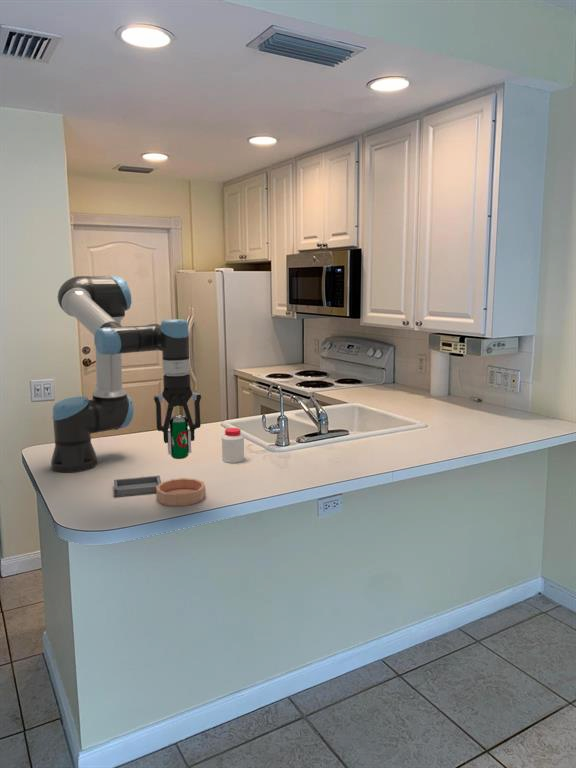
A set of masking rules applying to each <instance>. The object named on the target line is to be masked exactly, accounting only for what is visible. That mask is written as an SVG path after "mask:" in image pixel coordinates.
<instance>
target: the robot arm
mask: <svg viewBox="0 0 576 768" xmlns="http://www.w3.org/2000/svg"><path fill="white" fill-rule="evenodd" d="M57 303H58V305H59V307H60V308H61V310H62V311H63V312H64V313H65V314H67V315H68V316H70V317H74V318H75V319H76V320H77V321H78V322H79V323H80V324H81V325H82V326H83V327H85V328H86V330H87V331H88V332H90V333H91V335H93V337H94V338H93V341H94V346H95V348H94V349H95V375H96V389H95V390H94V391H93V392H92V399H89V398H88V397H87V396H72V397H68V398H64V399H62V400H59V401H57V402H55V403H54V405H53V407H52V420H53V421H52V422H53V432H54V433H53V434H54V448H53V453H52V458H51V461H50V465H51V470H53V471H55V472H59V473H74V472H82V471H87V470H90V469H93V468H95V467H96V466H97V465H98V463H99V462H98V456H97V453H96V451H95V449H94V446H93V444H92V437H91V434H96V433H103V432H108V431H113V430H114V431H117V430H119V429H124V428H127V427H128V426H129V425H130V424H131V423H132V422H133V421H132V420H133V419H134V418H133V417H134V410H135V408H134V403H133V400H132V398H131V396H129V395H128V394H127V391H126V390H125V389H124V388H123V374H122V373H123V372H122V370H123V369H122V355H123V354H128V353H129V354H131V353H143V352H155V351H161V353H162V373H164V375H163V377H162V378H163V379H162V380H163V391H162V393H161V394H160V395H159V394H158V395H154V396H153V400H154V403H155V416H156V421H155V422H156V429H157V431H158V432H163V434H162V435H163V442H164V444H167V454H168V456H171V455H172V453H171V432H170V420H171V417H172V415H173V410H174V408H175V407H178V406H179V407H182V408H183V411H184V416H186V419H187V421H188V452H189V454H192V442H194V441H195V439H196V438H195V430H197V429H200V428H201V408H200V404H201V403H200V402H201V399H202V395H201V394H200V393H199V392H193V391H192V388H191V375H190V371H191V370H190V369H191V368H190V367H191V366H190V331H189V324H188V323H189V322H188V321H187V320H186V319H181V318H180V319H178V318H171V319H170V318H169V319H163V320H161V323H160V324H159V323H149V324H145V325H131V326H130V325H129V326H122V325H121V324H122V323H121V322H122V320H123V319H124V318H125V317H126V311H128V310H130V308H131V305H132V293H131V289H130V287H129V285H128V283H127V281H126V280H125V279H124V278H123V277H121V276H115V275H113V276H112V275H96V276H95V275H93V276H90V275H89V276H88V275H87V276H86V275H85V276H83V275H81V276H80V275H79V276H74V277H71V278H69V279H68V280H66V281H65V282H63V283H62V285H60V287H59V290H58V293H57ZM191 397H192V400H193V404H194V407H193V408H194V423H193V419H192V416H191V413H190V410H189V407H188V406H189V405H188V402H189V400H190V399H191ZM163 399H164V400H165V401H166V402H167V403H168V405H167V408H166V413H165V418H164V423H163V425H162V405H161V403H163Z"/></svg>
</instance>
